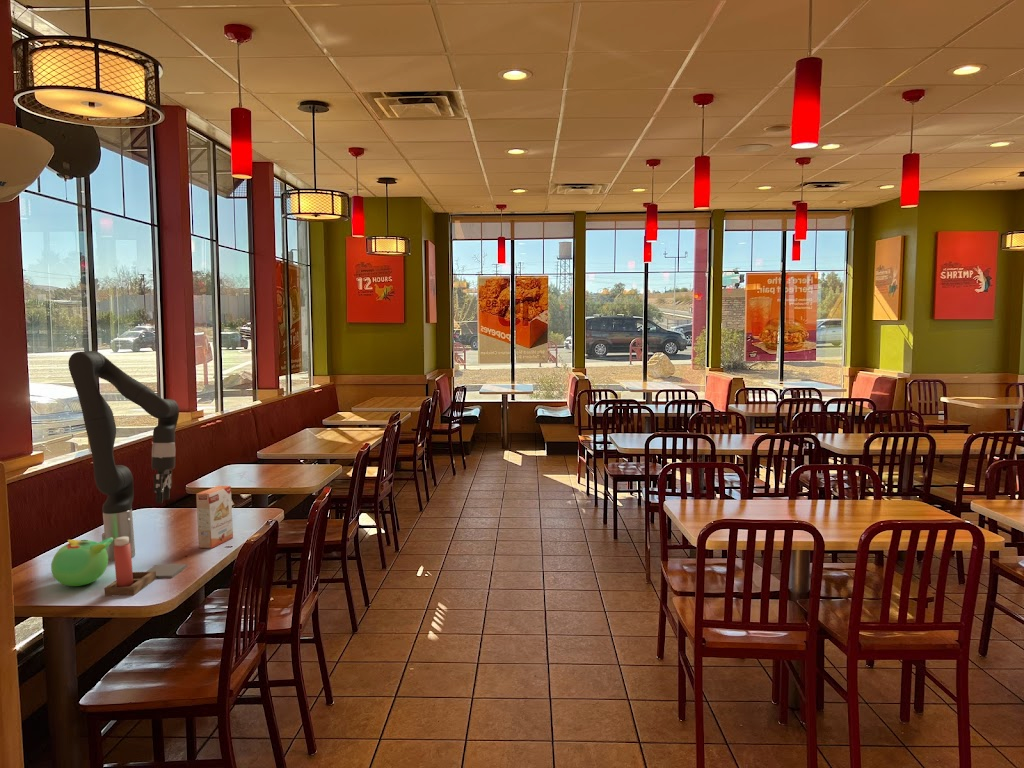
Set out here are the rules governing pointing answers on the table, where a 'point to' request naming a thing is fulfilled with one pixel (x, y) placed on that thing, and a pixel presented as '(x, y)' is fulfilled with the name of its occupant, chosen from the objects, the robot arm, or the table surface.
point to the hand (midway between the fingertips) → (162, 501)
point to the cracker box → (214, 516)
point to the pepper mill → (123, 562)
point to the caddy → (138, 584)
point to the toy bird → (80, 562)
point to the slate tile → (167, 570)
